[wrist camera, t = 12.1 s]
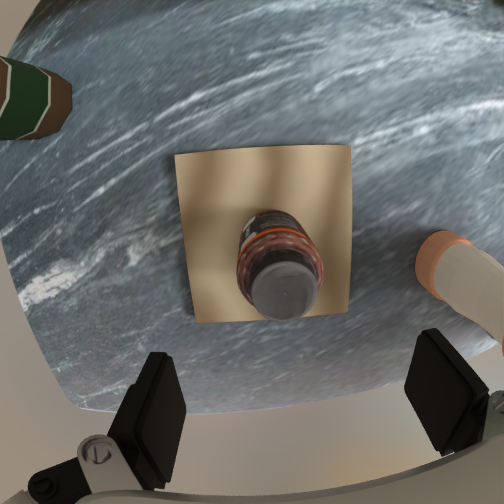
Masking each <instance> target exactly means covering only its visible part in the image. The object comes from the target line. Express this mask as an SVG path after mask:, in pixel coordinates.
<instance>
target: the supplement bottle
mask: <svg viewBox="0 0 504 504" xmlns="http://www.w3.org/2000/svg"><path fill="white" fill-rule="evenodd" d="M323 274H324V267H323V262H322V259H321V255H320V253H319V251H318V249H317V248H316V246H315V245H314V243H313V242H312V240H311V239H310V237H309V236H308V235H307V233H306V232H305V230H304V229H303V227H302V226H301V224H300V223H299V222H298V221H297V220H296V219H295V218H294V217H293V216H292V215H290V214H289V213H287V212H284V211H280V210H265V211H262V212H260V213H257V214H256V215H254V216H253V217H252V218H251V219H249V221H248V222H247V223H246V225H245V226H244V228H243V230H242V233H241V237H240V243H239V252H238V259H237V268H236V276H237V283H238V287H239V289H240V291H241V293H242V295H243V296H244V298H245V299H246V300H247V301H248V302H249V303H250V304H251V305H252V306H254V307H255V308H256V310H257V311H258V312H259V313H260V314H261V315H262V316H264V317H265V318H268V319H269V320H272V321H276V322H288V321H293V320H297V319H298V318H300V317H302V316H304V315H305V314H306V313H307V312H309V311H310V310H311V308H312V307H313V305H314V304H315V302H316V299H317V296H318V291H319V289H320V287H321V284H322V281H323Z"/></svg>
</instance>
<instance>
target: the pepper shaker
mask: <svg viewBox="0 0 504 504" xmlns="http://www.w3.org/2000/svg"><path fill="white" fill-rule="evenodd" d="M415 274H416V277H417V279H418V281H419V283H420V284H421V285H422V286H423V287H424V288H426V289H427V290H428V291H429V292H430V293H431V294H433V295H434V296H435V297H436V298H437V299H440V300H442V301H446V302H447V303H448V304H449V305H450V306H451V307H452V308H453V309H454V310H455V311H456V312H458V313H460V314H461V315H463V316H465V317H467V318H469V319H470V320H472V321H474V322H476V323H477V324H479V325H481V326H482V327H483V328H484V329H485V330H486V331H487V332H488V333H490V334H491V335H492V336H493V337H494V338H495V339H496V340H497V341H498V342H499V343H500V344H501V345H502V351H503V356H504V267H503V266H502V265H500V264H499V263H498V262H497V261H496V260H495V259H494V258H492V257H491V256H490V255H489V254H487V253H486V252H484V251H482V250H479V249H477V248H475V247H474V246H473V245H472V243H471V242H470V241H468V240H466V239H465V238H463V237H460V236H458V235H456V234H454V233H452V232H450V231H443V230H441V231H438V232H435V233H433V234H432V235H430V236H429V237H428V238H427V239H426V240H425V241H424V243H423V244H422V245H421V247H420V249H419V251H418V253H417V256H416V262H415Z"/></svg>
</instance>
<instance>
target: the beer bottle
mask: <svg viewBox="0 0 504 504" xmlns="http://www.w3.org/2000/svg"><path fill="white" fill-rule="evenodd" d="M71 110H72V85H71V84H70V83H69V82H67V81H66V80H64V79H63V78H62V77H60V76H59V75H58V74H56V73H53V72H51V71H49V70H46V69H43V68H39V67H36V66H33V65H30V64H27V63H23V62H20V61H16V60H13V59H9V58H5V57H2V56H0V140H30V139H40V138H42V137H45V136H48V135H50V134H53V133H56V132H58V131H59V130H60V129H61V127H62V125H63V123H64V122H65V120H66V118H67V117H68V115H69V113H70V112H71Z"/></svg>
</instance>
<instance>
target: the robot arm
mask: <svg viewBox="0 0 504 504" xmlns="http://www.w3.org/2000/svg"><path fill="white" fill-rule="evenodd" d="M404 390H405V393H406V395H407V397H408V399H409V401H410V403H411V404H412V406H413V408H414V410H415V412H416V414H417V416H418V417H419V419H420V421H421V423H422V425H423V427H424V429H425V431H426V433H427V435H428V437H429V439H430V441H431V443H432V445H433V447H434V448H435V450H436V451H439V452H440V454H441V456H442V457H443V456H445V455H448V454H450V453H453V452H455V453H454V454H451V455H449V456H446V457H444V458H441V459H439V460H436V461H434V462H431V463H428V464H425V465H422V466H419V467H416V468H414V469H410V470H407V471H404V472H400V473H397V474H393V475H390V476H386V477H382V478H379V479H375V480H371V481H366V482H362V483H357V484H353V485H348V486H342V487H337V488H331V489H324V490H317V491H310V492H301V493H291V494H280V495H263V496H216V495H215V496H214V495H195V494H183V493H172V492H160V491H154V489H155V488H159V489H164V488H165V484H166V482H168V483H169V482H170V481H171V477H172V473H173V468H174V464H175V459H176V455H177V450H178V446H179V441H180V437H181V433H182V429H183V424H184V420H185V416H186V404H185V401H184V398H183V395H182V391H181V388H180V384H179V381H178V377H177V374H176V370H175V366H174V363H173V359H172V357H171V356H168V355H167V353H166V352H150V354H149V356H148V358H147V360H146V362H145V364H144V366H143V368H142V370H141V372H140V374H139V377H138V379H137V381H136V383H135V384H132V385H130V387H129V388H128V391H127V393H126V395H125V397H124V399H123V401H122V403H121V405H120V407H119V410H118V412H117V414H116V416H115V418H114V420H113V423H112V425H111V427H110V429H109V431H108V434H107V436H105V435H93V436H90V437H88V438H86V439H84V441H82V442H81V443H80V445H79V447H78V450H77V455H78V457H75V458H73V459H71V460H68V461H66V462H63V463H61V464H58V465H56V466H53V467H50V468H48V469H45V470H42V471H40V472H37V473H35V474H34V475H33V476H32V477H31V478H30V480H29V482H28V490H27V491H26V492H25V491H24V490H21V491H19V492H18V493H17V494H15V495H14V496H12V497H11V498H10V499H8V500H7V501H5V502H4V503H2V504H504V391H496V392H494V393H492V394H491V396H490V395H489V394H488V391H489V389H488V387H487V386H486V385H485V383H484V382H483V381H482V380H481V379H480V377H479V376H478V375H477V374H476V373H475V371H474V370H473V369H472V368H471V367H470V366H469V364H468V363H467V362H466V361H465V360H464V358H463V357H462V356H461V355H460V354H459V353H458V351H457V350H456V349H455V348H454V347H453V346H452V345H451V344H450V342H449V341H448V340H447V339H446V338H445V337H444V336H443V335H442V334H441V332H440V331H439V330H438V329H436V328H432V329H427V330H423V331H422V332H421V334H420V335H419V336H418V337H417V341H416V345H415V349H414V353H413V357H412V361H411V364H410V368H409V371H408V375H407V378H406V381H405V385H404Z"/></svg>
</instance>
